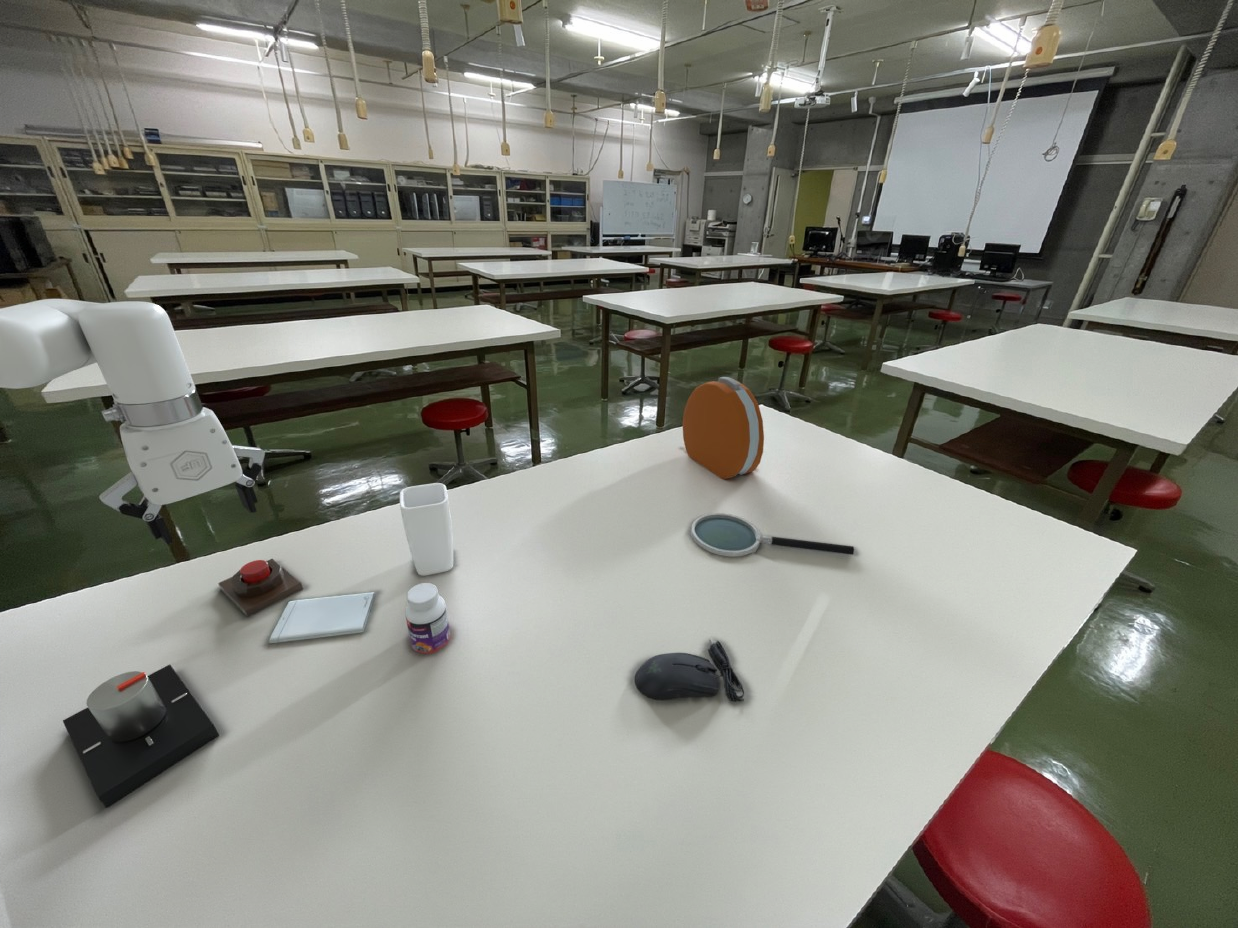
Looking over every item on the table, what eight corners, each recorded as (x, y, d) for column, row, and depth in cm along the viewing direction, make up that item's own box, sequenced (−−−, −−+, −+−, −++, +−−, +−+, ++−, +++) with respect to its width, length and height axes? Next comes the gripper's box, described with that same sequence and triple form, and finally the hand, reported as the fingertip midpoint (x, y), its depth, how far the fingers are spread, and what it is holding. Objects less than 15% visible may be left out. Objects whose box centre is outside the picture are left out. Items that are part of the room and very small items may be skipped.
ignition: (222, 593, 80) (214, 574, 79) (276, 568, 86) (269, 549, 84) (249, 621, 75) (241, 601, 74) (304, 592, 81) (298, 573, 79)
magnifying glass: (860, 577, 90) (863, 568, 89) (689, 555, 94) (690, 546, 93) (842, 534, 102) (845, 526, 101) (691, 516, 106) (692, 508, 105)
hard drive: (374, 590, 80) (289, 599, 78) (362, 628, 73) (267, 639, 70) (376, 598, 81) (291, 607, 78) (364, 636, 74) (271, 647, 71)
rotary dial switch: (74, 736, 59) (61, 719, 57) (178, 679, 66) (169, 663, 65) (110, 813, 52) (96, 796, 50) (222, 740, 59) (213, 723, 58)
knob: (117, 751, 54) (93, 716, 52) (102, 726, 57) (78, 692, 54) (173, 717, 58) (153, 683, 56) (156, 695, 61) (137, 662, 58)
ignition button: (239, 576, 79) (235, 568, 78) (264, 565, 81) (261, 556, 81) (249, 586, 77) (245, 577, 76) (274, 574, 80) (271, 565, 79)
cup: (459, 575, 86) (448, 502, 80) (414, 584, 84) (399, 510, 77) (454, 550, 92) (445, 481, 86) (412, 558, 90) (399, 487, 83)
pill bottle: (403, 648, 72) (392, 597, 68) (432, 624, 76) (423, 574, 72) (431, 663, 70) (421, 611, 65) (458, 637, 74) (451, 587, 70)
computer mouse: (626, 657, 72) (627, 638, 70) (721, 645, 75) (724, 626, 73) (641, 720, 63) (643, 700, 62) (748, 704, 66) (753, 685, 64)
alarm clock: (764, 477, 122) (781, 389, 112) (733, 486, 118) (749, 396, 107) (707, 443, 139) (717, 363, 129) (678, 449, 135) (687, 368, 124)
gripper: (71, 438, 53) (138, 566, 61) (254, 397, 65) (290, 507, 73) (56, 420, 57) (120, 542, 65) (232, 384, 69) (268, 490, 77)
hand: (210, 523), depth 69 cm, fingers open, 9 cm apart
